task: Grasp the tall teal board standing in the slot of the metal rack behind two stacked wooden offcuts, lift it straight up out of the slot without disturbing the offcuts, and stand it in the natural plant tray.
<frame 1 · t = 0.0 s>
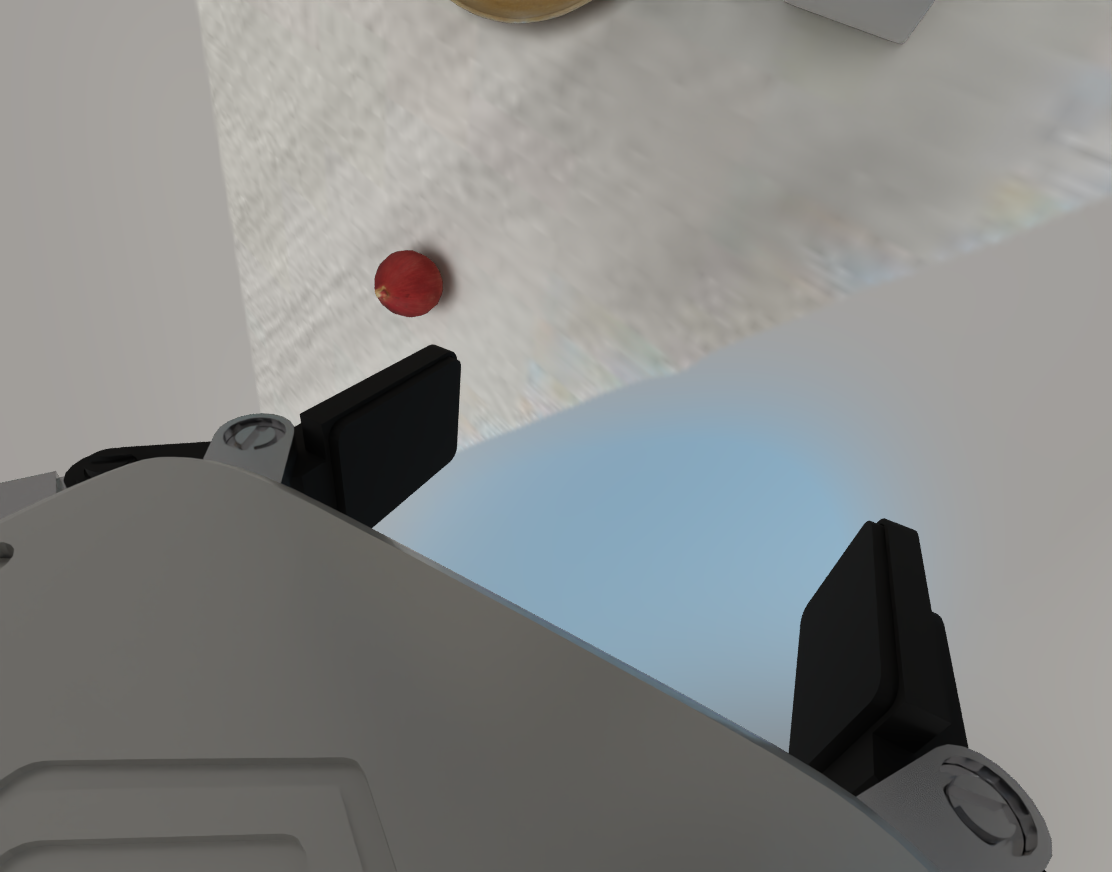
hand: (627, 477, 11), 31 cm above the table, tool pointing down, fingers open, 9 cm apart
onion: (436, 274, 50), on the table
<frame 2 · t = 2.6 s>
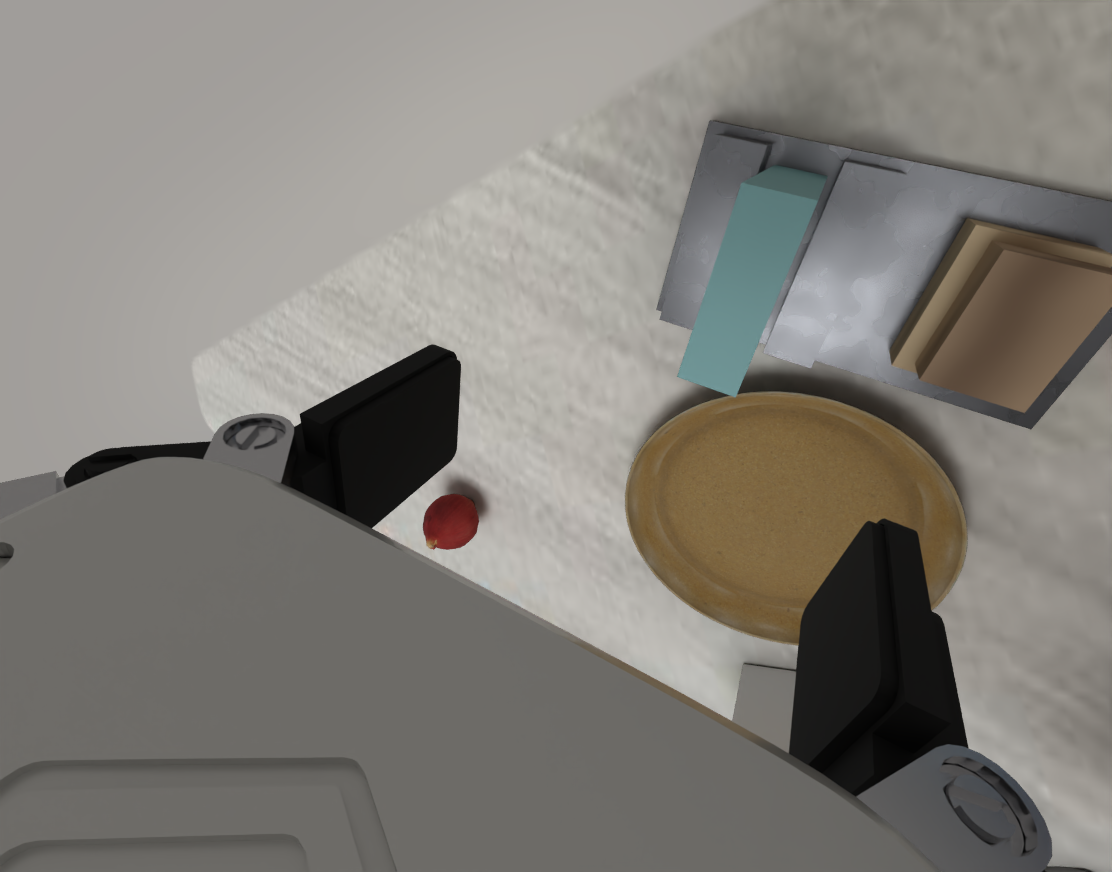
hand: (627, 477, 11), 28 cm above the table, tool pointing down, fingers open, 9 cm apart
plant saucer: (776, 508, 43), on the table
rack: (870, 271, 32), on the table
milk carton: (786, 691, 51), on the table
onion: (471, 501, 59), on the table
offcut low: (982, 305, 29), point 1 cm above the table, touching offcut high, rack
offcut high: (1002, 320, 27), point 3 cm above the table, touching offcut low
teal board: (770, 248, 32), point 1 cm above the table, touching rack
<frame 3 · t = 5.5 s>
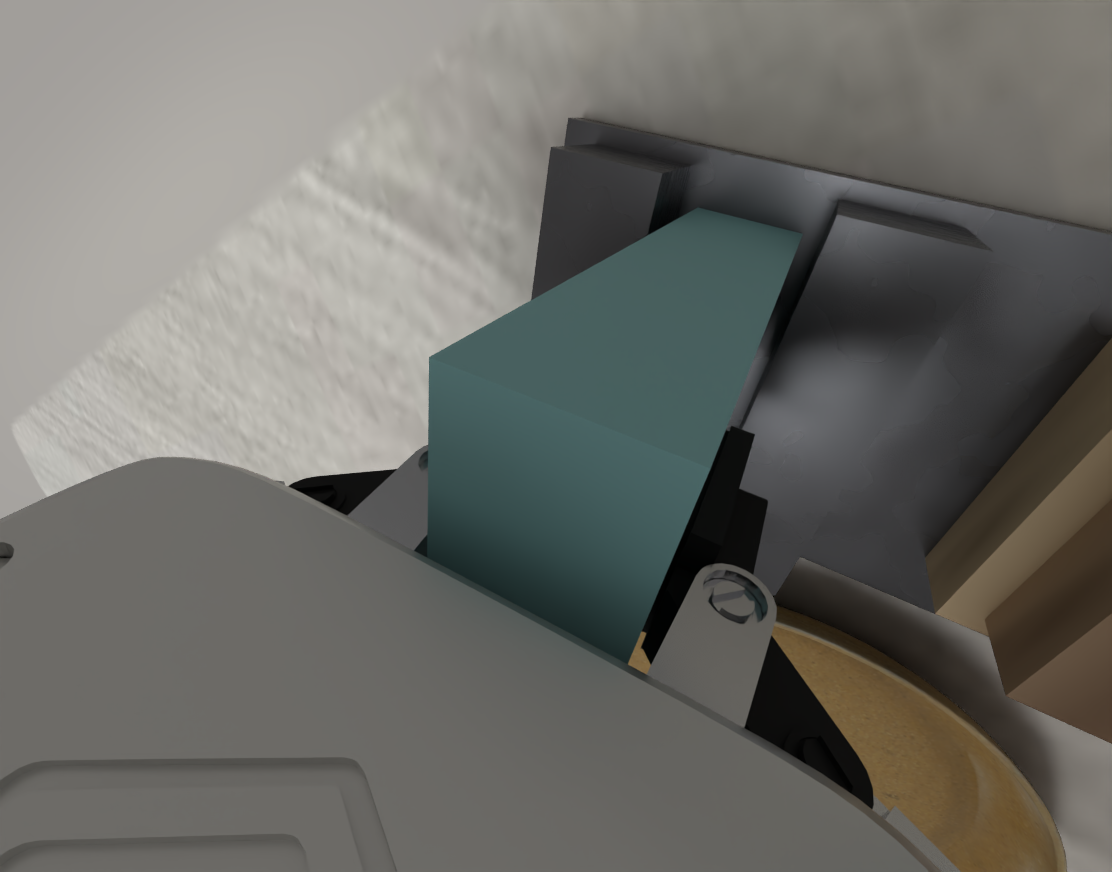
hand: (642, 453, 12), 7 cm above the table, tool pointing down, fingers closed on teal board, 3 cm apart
plant saucer: (736, 725, 27), on the table
rack: (889, 411, 16), on the table
teal board: (699, 361, 17), point 1 cm above the table, touching gripper, rack
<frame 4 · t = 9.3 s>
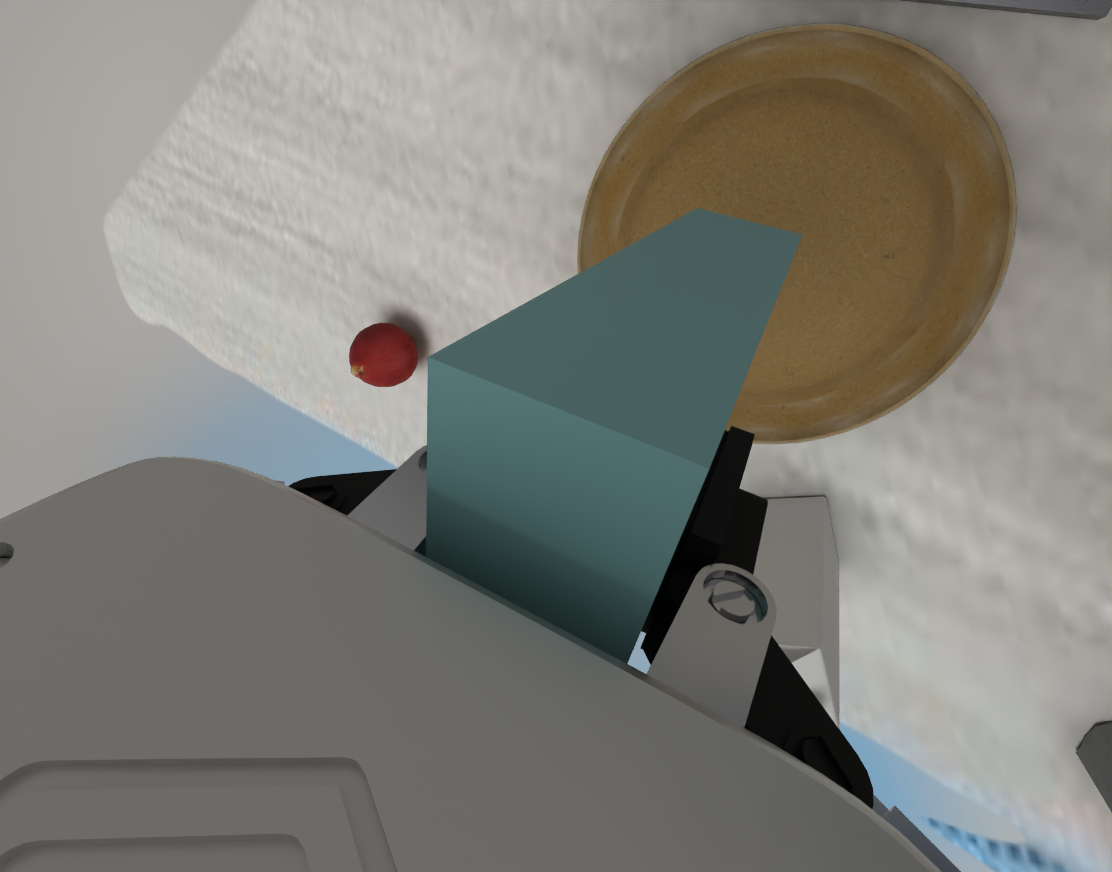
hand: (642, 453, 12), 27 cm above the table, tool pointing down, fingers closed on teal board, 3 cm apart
plant saucer: (764, 262, 34), on the table
milk carton: (785, 530, 43), on the table
onion: (412, 341, 50), on the table
teal board: (698, 361, 17), point 21 cm above the table, touching gripper
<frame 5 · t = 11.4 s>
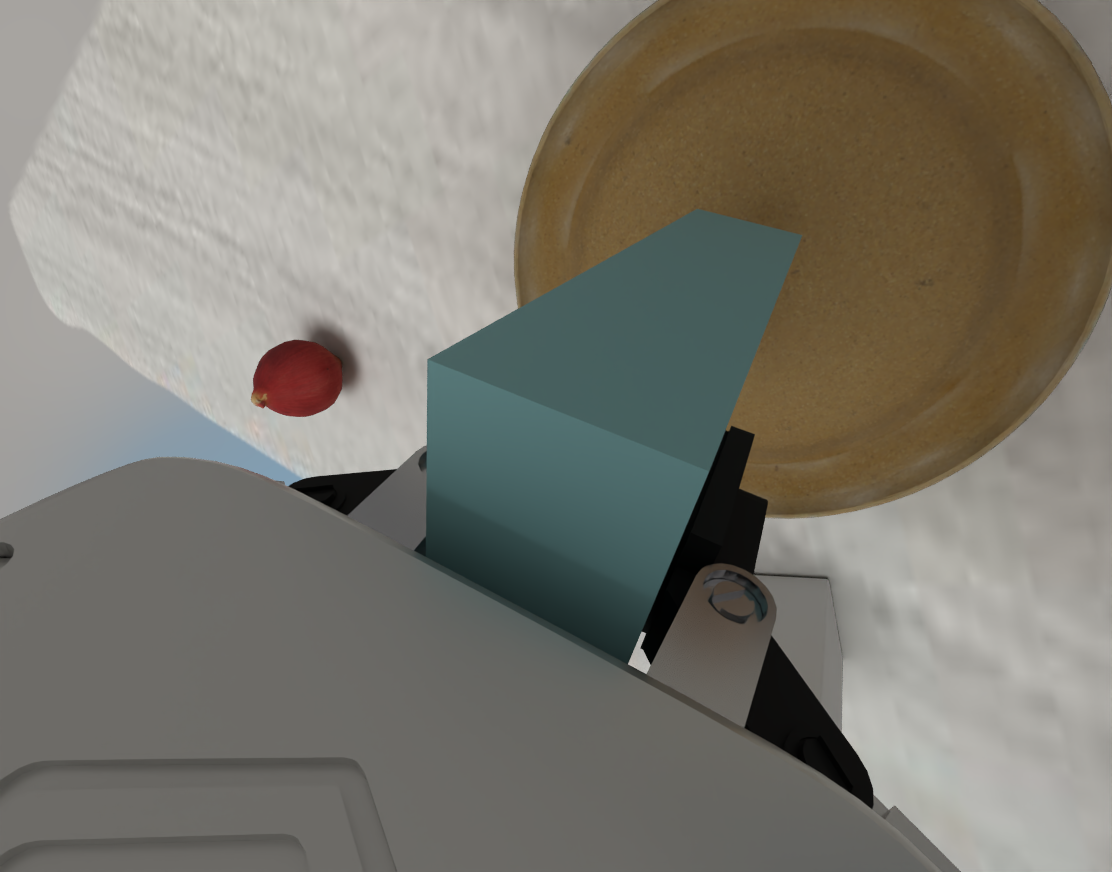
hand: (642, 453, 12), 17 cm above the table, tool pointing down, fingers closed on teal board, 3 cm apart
plant saucer: (756, 283, 26), on the table
milk carton: (776, 612, 34), on the table
onion: (339, 360, 42), on the table
teal board: (698, 362, 17), point 11 cm above the table, touching gripper
when the fingers open (10 cm above the table, at t = 13.4 s): teal board drops 1 cm, resting on plant saucer.
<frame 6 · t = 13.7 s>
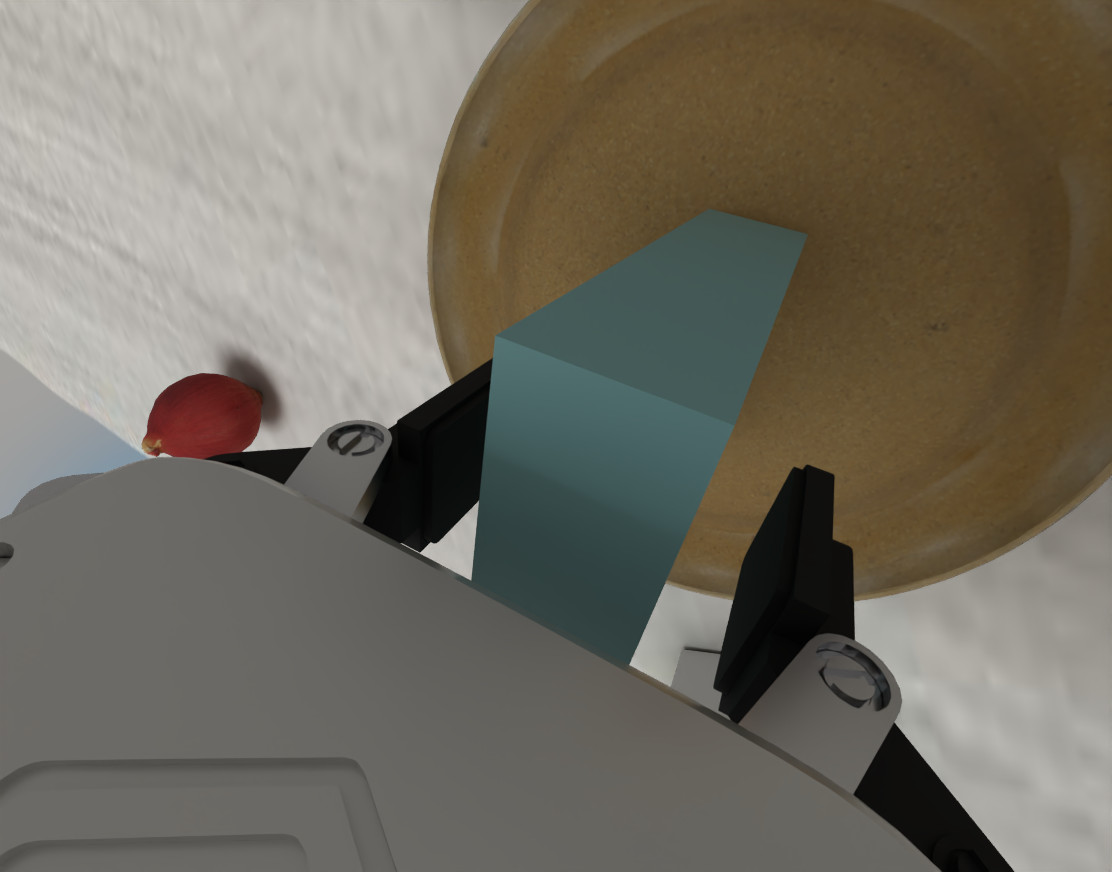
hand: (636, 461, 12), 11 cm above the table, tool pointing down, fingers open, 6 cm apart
plant saucer: (724, 319, 21), on the table, touching teal board
milk carton: (758, 696, 29), on the table
onion: (260, 394, 37), on the table
teal board: (708, 354, 18), point 3 cm above the table, touching plant saucer
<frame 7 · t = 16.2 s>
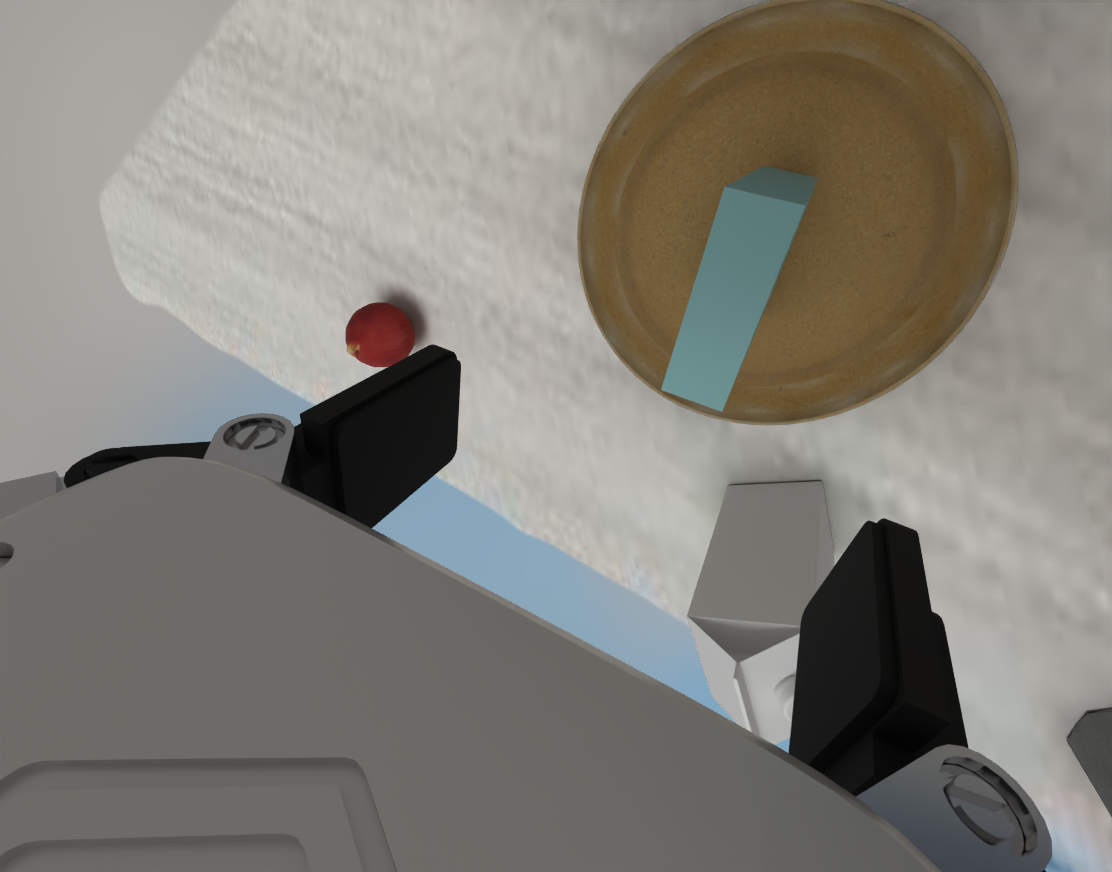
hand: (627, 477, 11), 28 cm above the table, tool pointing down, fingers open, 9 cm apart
plant saucer: (765, 241, 34), on the table, touching teal board
milk carton: (780, 516, 43), on the table
onion: (409, 322, 50), on the table
teal board: (760, 253, 31), point 3 cm above the table, touching plant saucer
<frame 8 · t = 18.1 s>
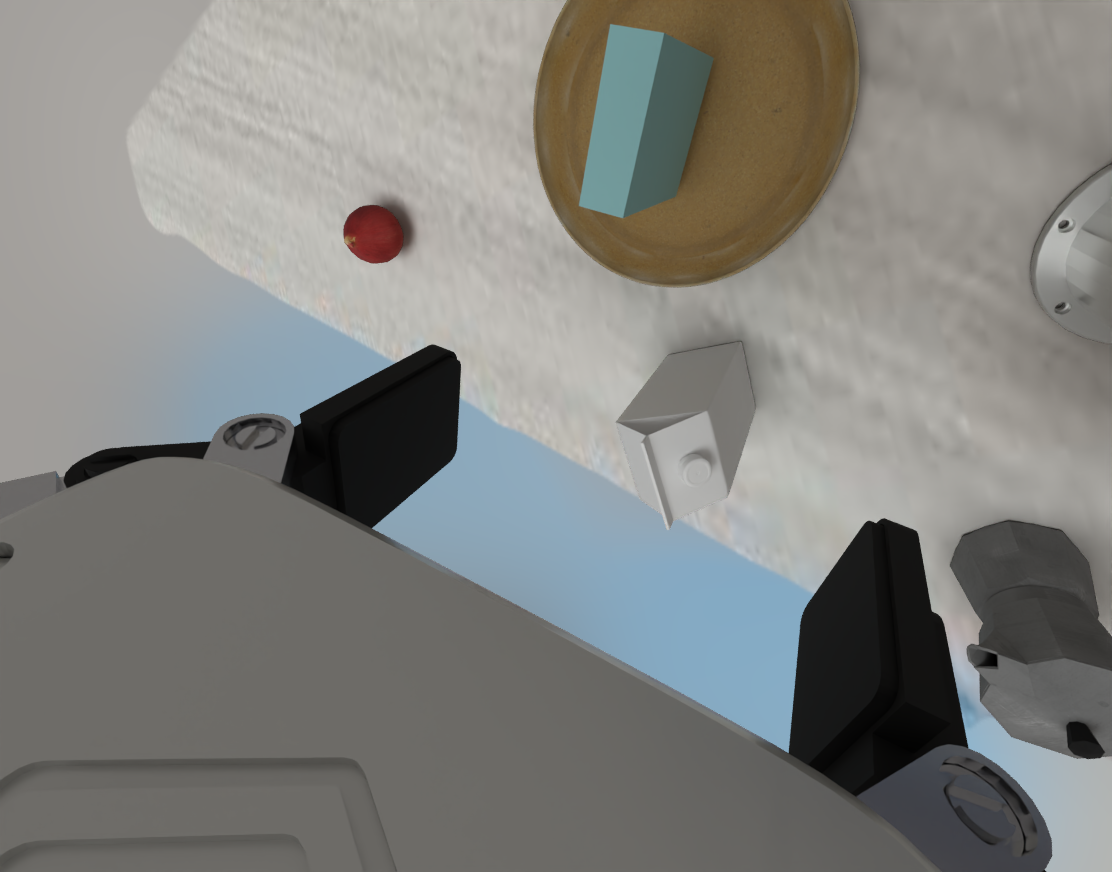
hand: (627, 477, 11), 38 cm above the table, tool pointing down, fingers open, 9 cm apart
plant saucer: (685, 126, 41), on the table, touching teal board
milk carton: (711, 380, 50), on the table
coffeepot: (1026, 566, 45), on the table
onion: (399, 229, 58), on the table
teal board: (674, 127, 39), point 3 cm above the table, touching plant saucer
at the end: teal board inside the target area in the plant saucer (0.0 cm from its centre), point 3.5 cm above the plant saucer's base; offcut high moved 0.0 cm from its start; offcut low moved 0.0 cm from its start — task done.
